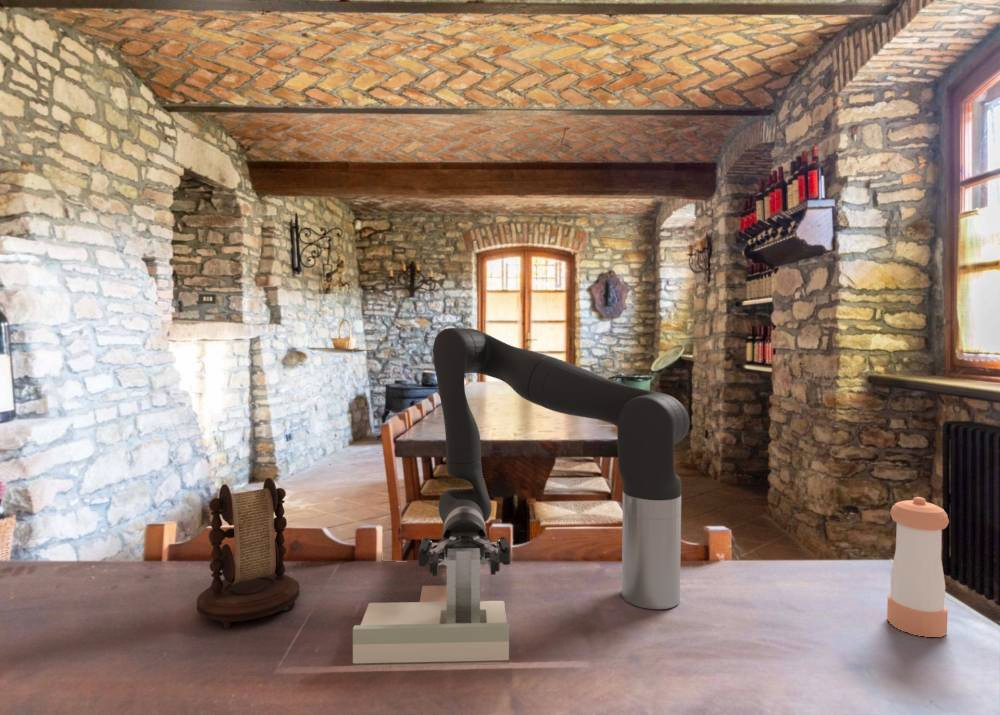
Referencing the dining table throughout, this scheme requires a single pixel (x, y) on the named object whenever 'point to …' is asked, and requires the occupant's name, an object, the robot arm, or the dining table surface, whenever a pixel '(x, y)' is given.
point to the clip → (463, 585)
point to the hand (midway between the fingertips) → (464, 569)
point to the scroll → (248, 557)
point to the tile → (434, 594)
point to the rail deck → (429, 635)
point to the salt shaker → (918, 569)
